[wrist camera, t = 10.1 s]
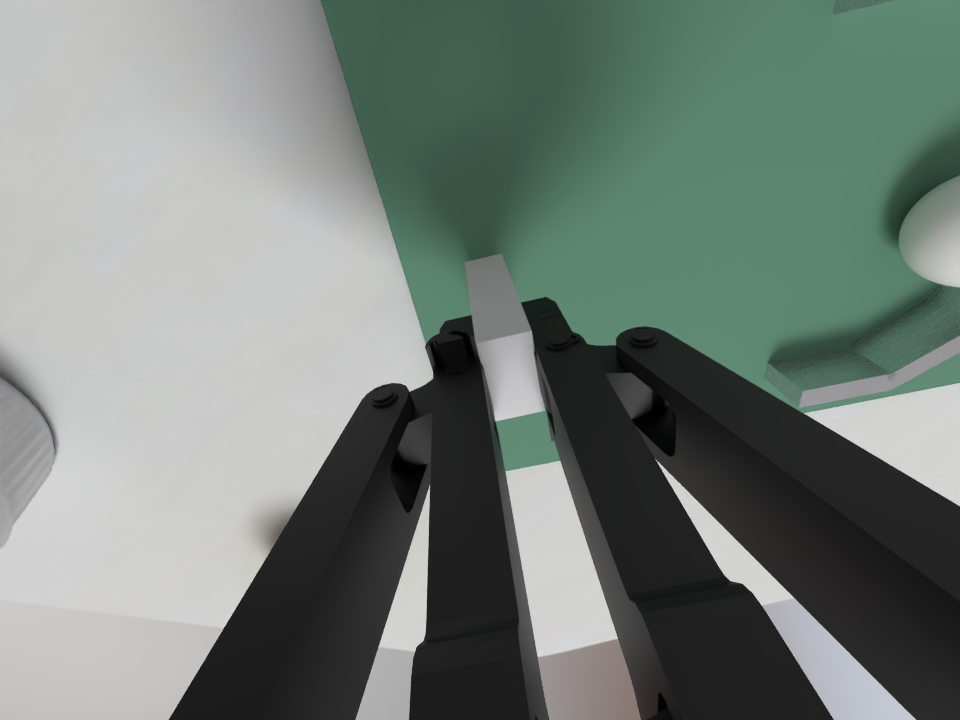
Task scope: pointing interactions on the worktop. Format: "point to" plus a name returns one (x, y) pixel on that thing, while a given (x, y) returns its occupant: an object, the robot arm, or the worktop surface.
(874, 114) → the putting mat
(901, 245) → the golf ball
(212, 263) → the worktop surface
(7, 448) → the ramekin
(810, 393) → the cup
